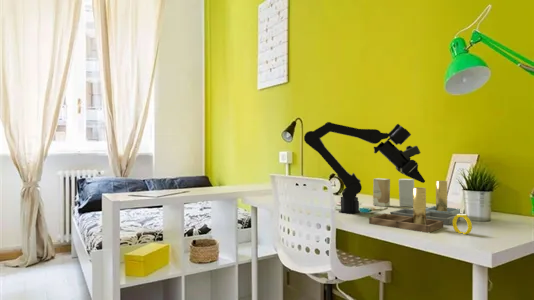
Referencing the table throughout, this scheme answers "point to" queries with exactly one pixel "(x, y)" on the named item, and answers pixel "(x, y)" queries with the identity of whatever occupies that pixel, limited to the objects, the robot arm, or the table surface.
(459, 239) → the table surface
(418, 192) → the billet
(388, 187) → the skincare box
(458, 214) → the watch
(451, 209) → the tray
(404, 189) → the skincare box
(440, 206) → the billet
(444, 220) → the tray
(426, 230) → the tray
